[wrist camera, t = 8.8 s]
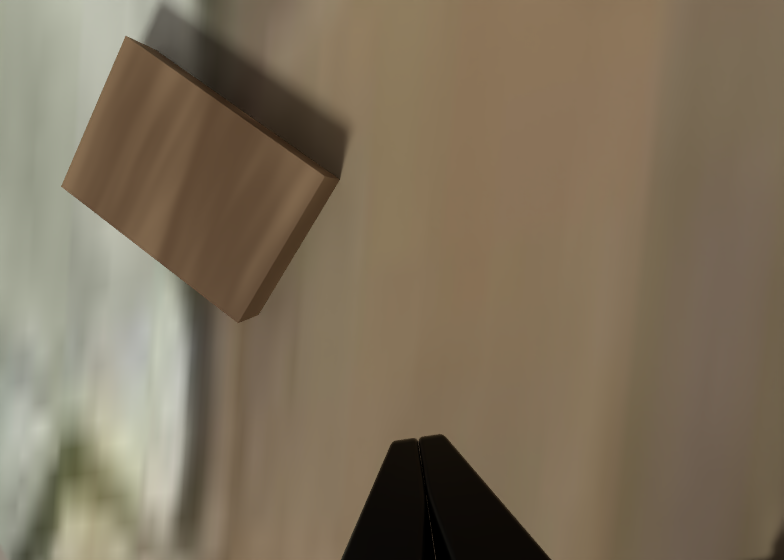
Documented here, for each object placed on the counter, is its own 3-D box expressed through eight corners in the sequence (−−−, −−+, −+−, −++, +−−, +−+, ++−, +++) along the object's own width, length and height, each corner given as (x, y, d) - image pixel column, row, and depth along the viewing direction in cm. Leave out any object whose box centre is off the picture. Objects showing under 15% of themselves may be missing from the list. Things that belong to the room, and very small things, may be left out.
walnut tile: (324, 176, 17) (125, 35, 18) (238, 323, 19) (61, 186, 20) (343, 180, 19) (163, 53, 20) (263, 312, 21) (101, 189, 22)
